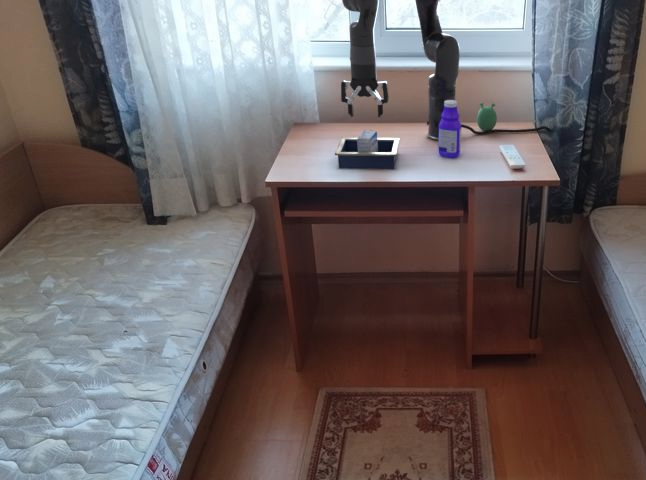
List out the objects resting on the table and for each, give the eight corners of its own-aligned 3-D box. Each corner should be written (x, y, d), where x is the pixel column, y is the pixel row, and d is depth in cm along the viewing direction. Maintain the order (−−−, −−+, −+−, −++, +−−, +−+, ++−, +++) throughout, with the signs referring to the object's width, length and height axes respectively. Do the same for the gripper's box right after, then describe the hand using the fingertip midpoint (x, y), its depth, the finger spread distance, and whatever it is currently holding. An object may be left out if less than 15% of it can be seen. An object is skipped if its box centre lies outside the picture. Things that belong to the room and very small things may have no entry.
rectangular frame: (399, 153, 221) (399, 138, 218) (396, 170, 209) (395, 154, 206) (342, 152, 221) (341, 137, 218) (336, 169, 209) (334, 153, 206)
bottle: (462, 154, 220) (464, 100, 210) (457, 159, 216) (458, 105, 206) (441, 151, 222) (442, 97, 212) (436, 157, 218) (436, 102, 208)
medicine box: (372, 166, 211) (370, 139, 206) (358, 165, 212) (356, 138, 207) (378, 157, 218) (377, 130, 213) (365, 156, 218) (364, 130, 213)
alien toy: (495, 127, 243) (496, 99, 237) (496, 134, 237) (498, 105, 231) (475, 127, 243) (476, 99, 237) (477, 134, 237) (478, 105, 231)
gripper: (388, 58, 200) (389, 113, 209) (340, 57, 200) (344, 112, 210) (386, 64, 194) (387, 120, 203) (337, 63, 194) (341, 119, 204)
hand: (365, 116), depth 206 cm, fingers open, 8 cm apart
